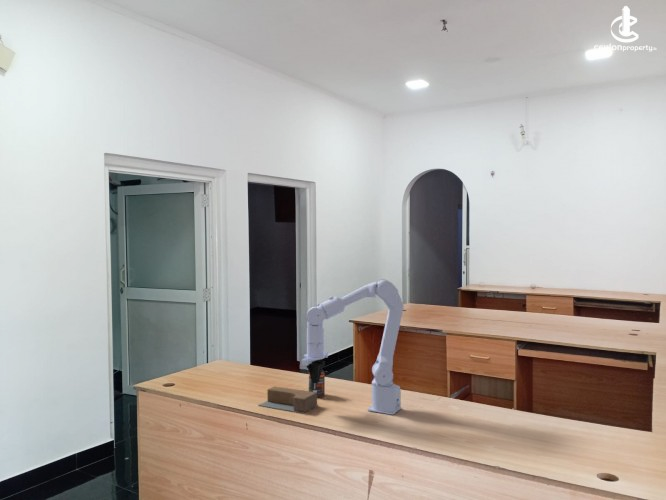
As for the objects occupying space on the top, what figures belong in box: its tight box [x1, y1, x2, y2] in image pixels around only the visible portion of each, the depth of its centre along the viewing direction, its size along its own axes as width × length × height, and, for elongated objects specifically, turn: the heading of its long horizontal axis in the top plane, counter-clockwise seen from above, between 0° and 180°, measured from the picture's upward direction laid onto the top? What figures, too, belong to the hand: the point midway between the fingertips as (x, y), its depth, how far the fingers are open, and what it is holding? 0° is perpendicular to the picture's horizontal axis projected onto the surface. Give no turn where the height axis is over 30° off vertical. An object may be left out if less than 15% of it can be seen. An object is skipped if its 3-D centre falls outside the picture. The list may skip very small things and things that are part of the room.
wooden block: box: [266, 386, 318, 413], centre depth 180 cm, size 9×4×18 cm
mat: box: [258, 400, 318, 414], centre depth 181 cm, size 18×10×1 cm, turn 62°
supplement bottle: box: [308, 369, 326, 398], centre depth 193 cm, size 6×6×11 cm
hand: (315, 382), depth 175 cm, fingers closed
